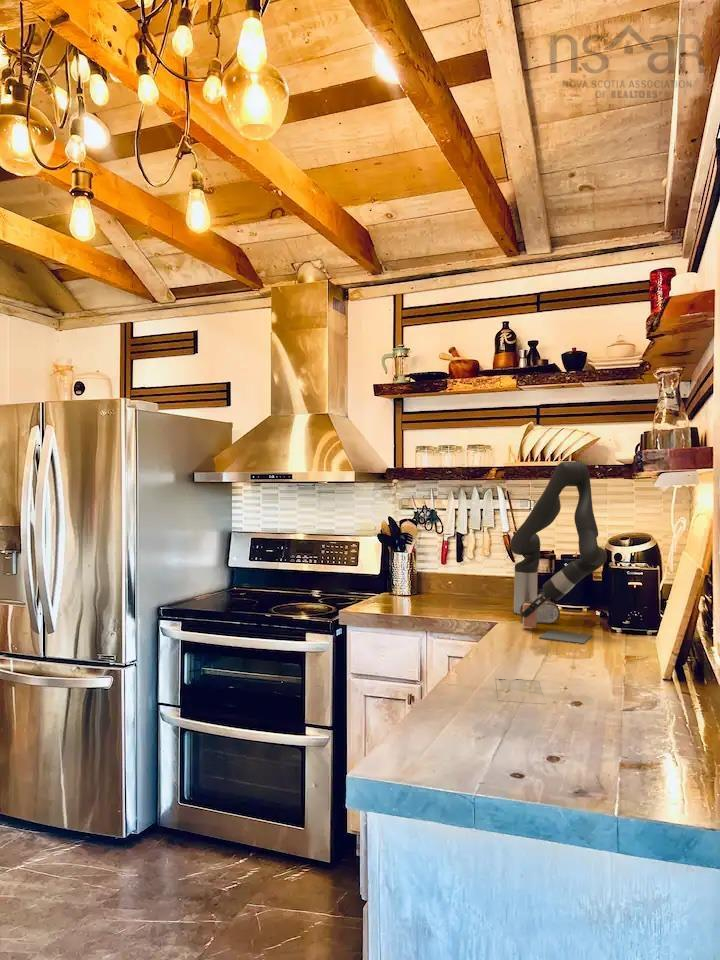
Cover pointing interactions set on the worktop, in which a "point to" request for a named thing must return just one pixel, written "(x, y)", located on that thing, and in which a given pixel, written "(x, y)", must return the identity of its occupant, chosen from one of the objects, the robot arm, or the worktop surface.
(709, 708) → the worktop surface
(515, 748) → the worktop surface
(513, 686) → the worktop surface
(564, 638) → the mat
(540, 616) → the tin
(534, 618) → the block
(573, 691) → the worktop surface
